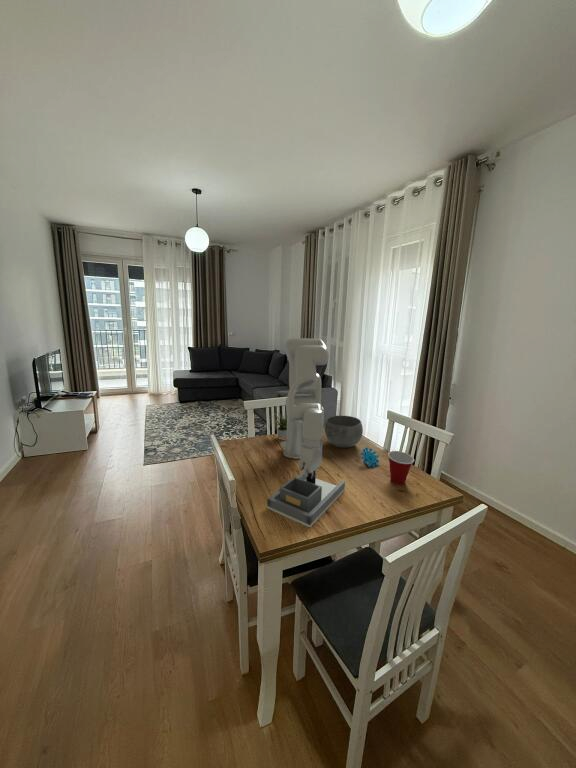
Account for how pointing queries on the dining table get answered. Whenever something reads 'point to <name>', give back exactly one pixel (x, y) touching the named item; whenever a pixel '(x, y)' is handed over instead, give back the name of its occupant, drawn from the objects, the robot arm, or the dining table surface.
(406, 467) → the plastic cup
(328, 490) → the bay
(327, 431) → the bowl
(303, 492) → the crate
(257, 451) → the dining table surface
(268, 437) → the dining table surface
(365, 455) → the gear
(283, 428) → the house plant
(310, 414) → the robot arm
